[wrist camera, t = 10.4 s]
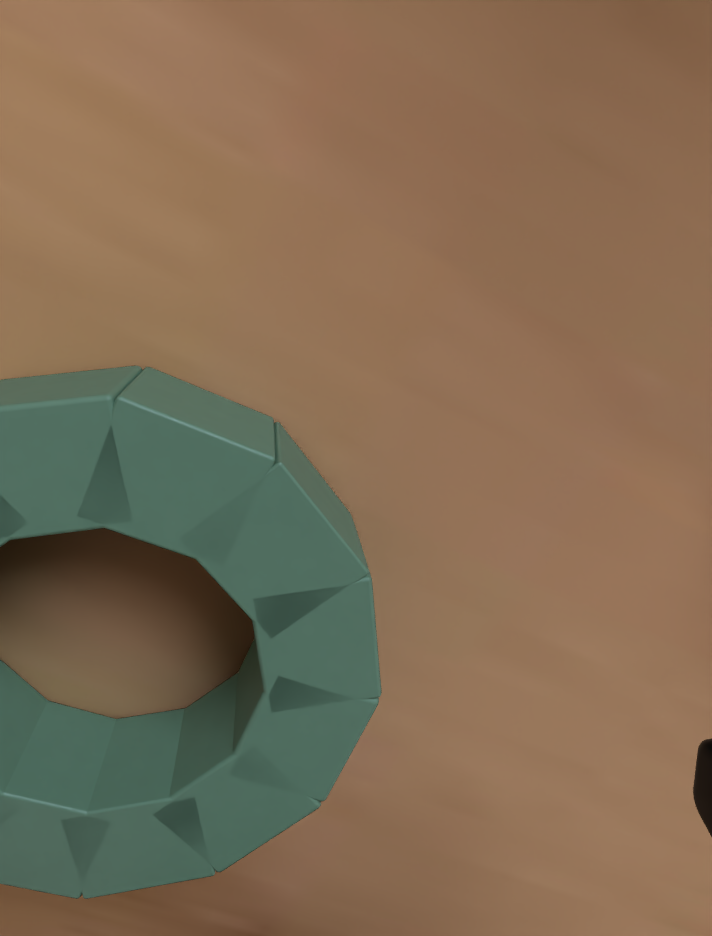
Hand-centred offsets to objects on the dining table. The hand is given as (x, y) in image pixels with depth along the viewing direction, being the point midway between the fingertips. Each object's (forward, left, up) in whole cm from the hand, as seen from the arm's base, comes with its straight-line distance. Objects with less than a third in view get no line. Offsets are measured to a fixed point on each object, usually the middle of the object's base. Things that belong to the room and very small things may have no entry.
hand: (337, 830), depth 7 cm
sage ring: (0, +4, -6) cm, 7 cm away
